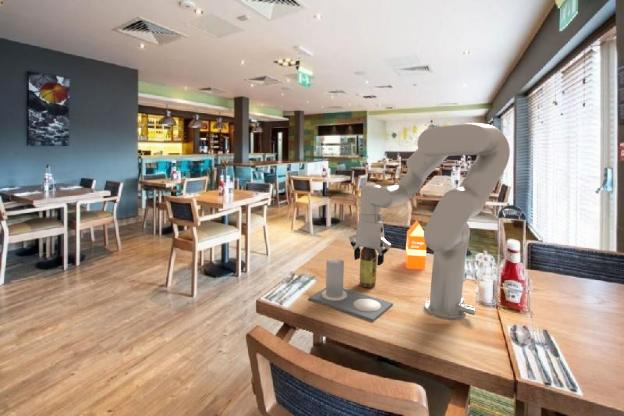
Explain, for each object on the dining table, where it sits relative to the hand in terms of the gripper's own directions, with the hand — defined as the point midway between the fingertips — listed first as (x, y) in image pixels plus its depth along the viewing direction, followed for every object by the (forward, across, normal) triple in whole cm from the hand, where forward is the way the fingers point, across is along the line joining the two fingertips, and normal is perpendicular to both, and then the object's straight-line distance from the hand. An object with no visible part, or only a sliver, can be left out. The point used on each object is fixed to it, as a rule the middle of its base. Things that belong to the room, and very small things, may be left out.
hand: (368, 261), depth 134 cm
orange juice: (+10, -6, -33) cm, 35 cm away
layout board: (+9, -3, +17) cm, 20 cm away
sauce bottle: (+10, 0, 0) cm, 10 cm away
